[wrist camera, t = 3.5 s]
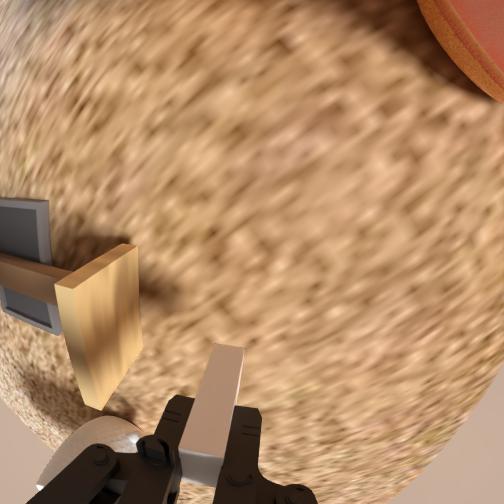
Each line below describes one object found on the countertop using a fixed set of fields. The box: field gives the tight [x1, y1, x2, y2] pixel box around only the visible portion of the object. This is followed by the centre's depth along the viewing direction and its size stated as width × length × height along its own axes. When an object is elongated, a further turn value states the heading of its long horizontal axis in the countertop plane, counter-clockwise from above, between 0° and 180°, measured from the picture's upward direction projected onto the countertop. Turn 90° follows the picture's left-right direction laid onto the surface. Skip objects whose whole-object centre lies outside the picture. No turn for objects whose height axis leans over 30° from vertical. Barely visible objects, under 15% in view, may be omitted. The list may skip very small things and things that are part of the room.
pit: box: [0, 198, 63, 336], centre depth 20 cm, size 12×9×1 cm
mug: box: [36, 416, 148, 491], centre depth 19 cm, size 15×11×13 cm
